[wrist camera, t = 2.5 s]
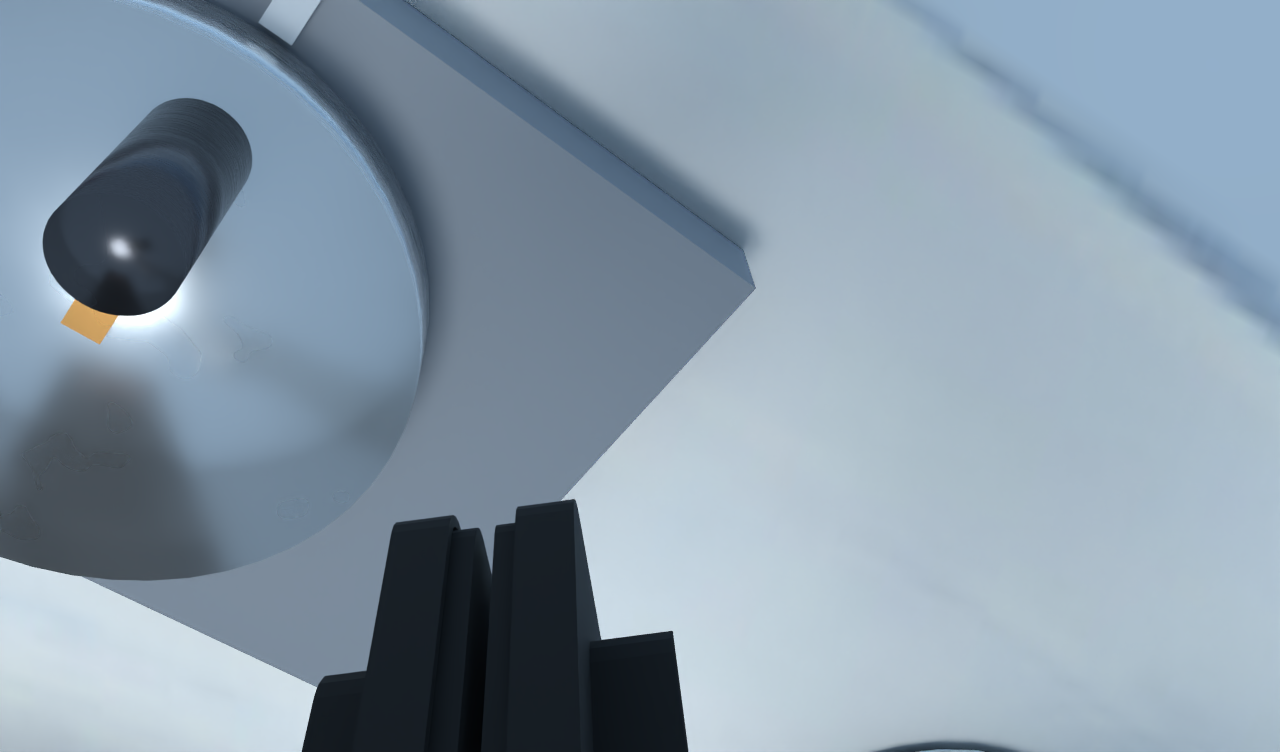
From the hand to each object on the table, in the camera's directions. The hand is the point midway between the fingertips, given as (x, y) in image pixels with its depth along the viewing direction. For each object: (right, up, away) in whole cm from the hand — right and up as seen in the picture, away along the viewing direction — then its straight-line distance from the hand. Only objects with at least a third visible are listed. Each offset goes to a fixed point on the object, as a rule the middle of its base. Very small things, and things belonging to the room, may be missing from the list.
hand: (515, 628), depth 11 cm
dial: (-10, +4, +13) cm, 17 cm away
